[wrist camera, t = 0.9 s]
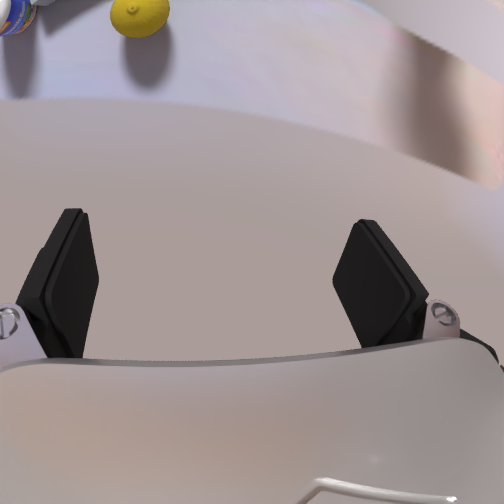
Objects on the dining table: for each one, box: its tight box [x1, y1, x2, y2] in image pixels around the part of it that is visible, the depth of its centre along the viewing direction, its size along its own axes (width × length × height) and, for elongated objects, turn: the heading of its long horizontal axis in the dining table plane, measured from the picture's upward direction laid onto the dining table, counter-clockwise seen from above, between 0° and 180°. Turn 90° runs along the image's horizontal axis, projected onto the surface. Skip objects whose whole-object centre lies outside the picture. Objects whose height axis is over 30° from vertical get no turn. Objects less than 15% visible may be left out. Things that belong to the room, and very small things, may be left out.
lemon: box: [110, 0, 170, 38], centre depth 21 cm, size 6×6×8 cm
